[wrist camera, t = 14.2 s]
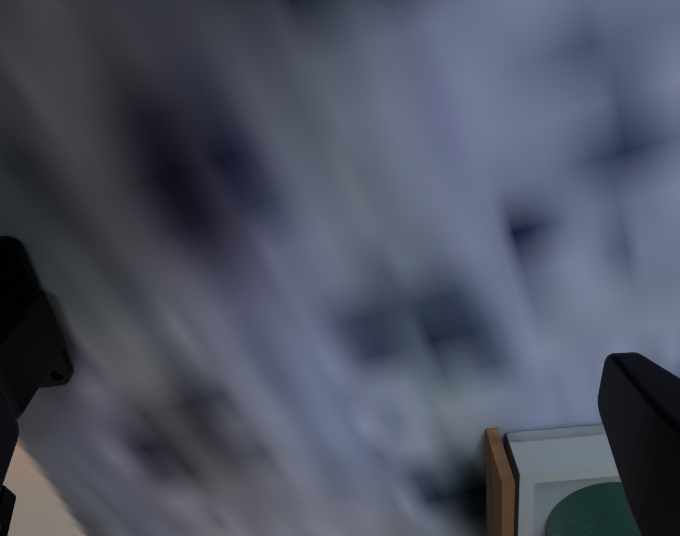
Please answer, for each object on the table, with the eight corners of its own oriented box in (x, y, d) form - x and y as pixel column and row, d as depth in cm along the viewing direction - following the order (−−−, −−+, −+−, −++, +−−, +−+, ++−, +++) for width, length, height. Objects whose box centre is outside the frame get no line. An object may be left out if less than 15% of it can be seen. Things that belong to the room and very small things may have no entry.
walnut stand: (486, 572, 32) (500, 631, 29) (485, 429, 27) (502, 483, 24) (696, 555, 31) (729, 613, 29) (733, 405, 27) (777, 458, 24)
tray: (504, 562, 31) (515, 606, 29) (505, 433, 27) (519, 474, 25) (683, 547, 31) (707, 591, 29) (713, 413, 27) (744, 453, 25)
